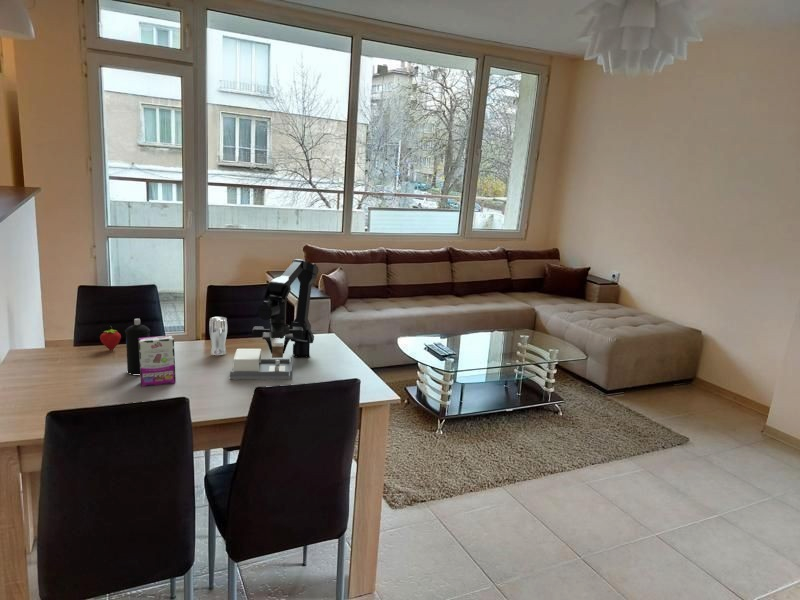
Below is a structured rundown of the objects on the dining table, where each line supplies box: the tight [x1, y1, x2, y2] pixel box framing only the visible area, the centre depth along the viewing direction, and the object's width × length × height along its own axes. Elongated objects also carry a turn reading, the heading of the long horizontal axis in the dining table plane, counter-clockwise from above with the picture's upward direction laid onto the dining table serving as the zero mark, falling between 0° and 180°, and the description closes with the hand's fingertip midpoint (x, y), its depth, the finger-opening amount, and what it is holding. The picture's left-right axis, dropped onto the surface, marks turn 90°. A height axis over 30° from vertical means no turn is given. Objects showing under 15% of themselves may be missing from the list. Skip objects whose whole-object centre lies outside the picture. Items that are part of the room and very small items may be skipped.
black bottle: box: [124, 318, 151, 374], centre depth 194 cm, size 8×8×20 cm
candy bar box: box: [139, 334, 177, 387], centre depth 185 cm, size 11×5×16 cm, turn 117°
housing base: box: [229, 356, 293, 380], centre depth 204 cm, size 22×16×3 cm
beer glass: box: [208, 316, 228, 357], centre depth 219 cm, size 7×7×15 cm
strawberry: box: [99, 326, 122, 351], centre depth 215 cm, size 6×8×10 cm
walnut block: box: [271, 342, 284, 359], centre depth 203 cm, size 4×4×4 cm
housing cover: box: [232, 348, 262, 371], centre depth 202 cm, size 9×13×6 cm
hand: (277, 353), depth 204 cm, fingers closed on walnut block, 4 cm apart
